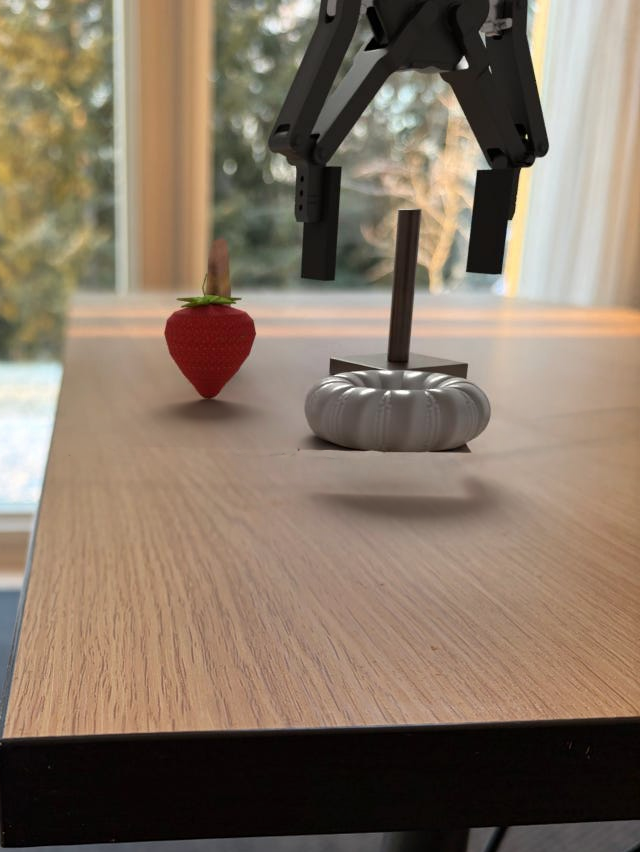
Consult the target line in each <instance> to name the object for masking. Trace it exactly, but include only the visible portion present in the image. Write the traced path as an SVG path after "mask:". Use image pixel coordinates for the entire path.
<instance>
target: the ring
mask: <svg viewBox="0 0 640 852" xmlns="http://www.w3.org/2000/svg"><path fill="white" fill-rule="evenodd" d="M303 405H304V406H303V410H304V411H303V412H304V414H305V415H304V416H305V419H306V423H307V424H308V427H309V429H310V430H311V431H312V432H313V434H315V436H317V437H318V438H320V439H321V440H323V441H326V442H330V443H332V444H335V445H339V446H340V447H341V446H342V447H344V448H347V449H348V448H349V449H355V450H364V451H370V452H371V451H372V452H379V453H415V454H416V453H419V454H421V453H430V452H435V451H436V452H437V451H443V450H444V451H445V450H452V449H456V448H459V447H462V446H464V445H466V444H468V443H469V442H471V441H473V440H474V439H476V438H478V437H479V436H480V435H481V434H482V433H483V432H484V431H485V430H486V429H487V427H488V425H489V423H490V419H491V416H492V407H491V403H490V400H489V397H488V396H487V394H486V393H485V391H483V390H482V389H481V388H480V387H479V386H478V385H476V384H475V383H473V382H472V381H471V380H468V379H464V378H459V377H455V376H450V375H445V374H440V373H431V372H419V371H407V370H369V371H358V372H346V373H340V374H337V375H330V376H327V377H324V378H321V379H319V380H318V381H316V382H315V383H314V384H313V385H312V386H311V387H310V388H309V390H308V392H307V393H306V396H305V399H304V404H303Z"/></svg>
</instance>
